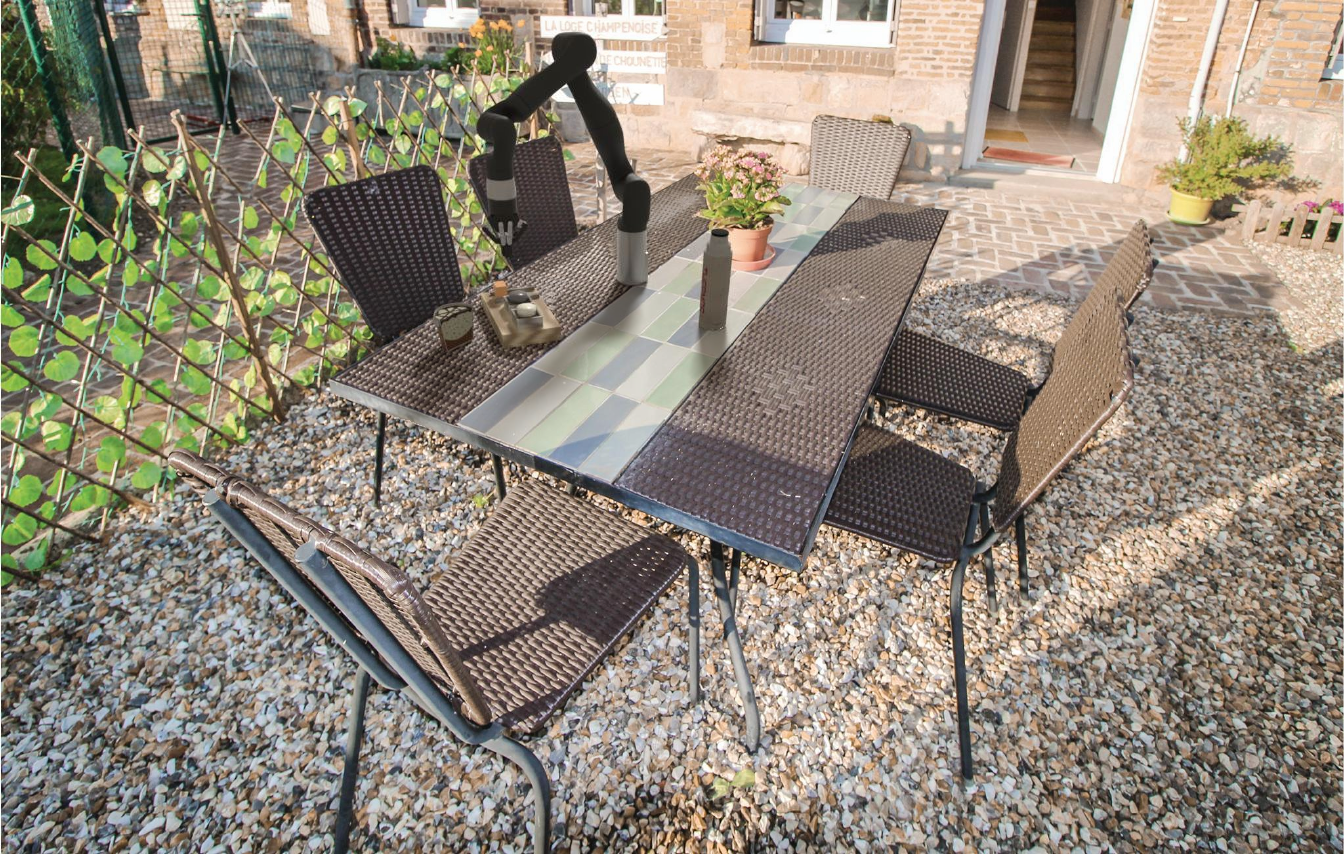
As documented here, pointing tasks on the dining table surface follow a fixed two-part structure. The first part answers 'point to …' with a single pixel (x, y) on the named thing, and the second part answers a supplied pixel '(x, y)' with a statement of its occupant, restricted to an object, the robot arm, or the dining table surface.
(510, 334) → the board
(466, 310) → the food container
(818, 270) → the dining table surface
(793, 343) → the dining table surface
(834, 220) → the dining table surface
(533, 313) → the cream button
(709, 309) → the thermos bottle
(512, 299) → the charcoal button
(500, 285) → the slider knob
